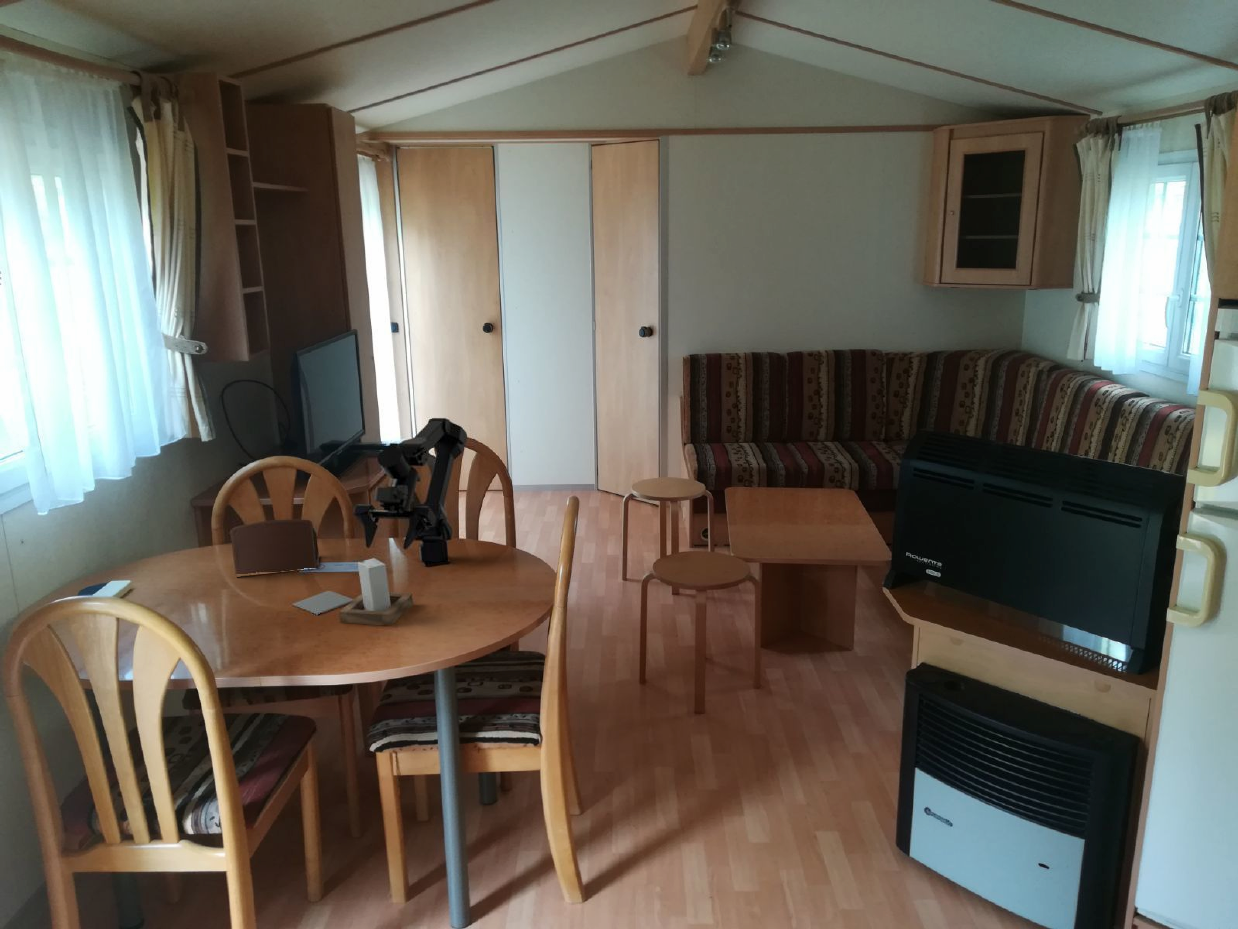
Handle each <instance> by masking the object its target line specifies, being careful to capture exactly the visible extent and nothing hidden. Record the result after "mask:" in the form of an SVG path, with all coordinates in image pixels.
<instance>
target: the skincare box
mask: <svg viewBox="0 0 1238 929" xmlns="http://www.w3.org/2000/svg"><path fill="white" fill-rule="evenodd" d="M357 567H358V574H359V581H360V588H361V589H360V590H361V594H362V596H363V603H364V609H363V610H371V611H386V610H388V609H389V608H390V607H391V603H390V596H389V593H390V590H389V589H390V588H389V581H388V580H389V579H388V572H387V565H386V563H384V562H382V561H380V560H378V559H376V558H375V557H374V558H369V559H366V560H365V559H364V560H363V561H358V562H357Z"/></svg>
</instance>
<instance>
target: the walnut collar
mask: <svg viewBox="0 0 1238 929" xmlns="http://www.w3.org/2000/svg"><path fill="white" fill-rule="evenodd" d="M389 596H390V603H391V607H390V608H389V609H388V610H386V611H371V610H364V603H363V596H362V593H360V594H359V595H358V596H356V597H355V598H354V600H353V601H352V602H351V603H348V604H346V606H344V607H343V608H342V609H340V611H339V612H338V616H339V623H341V624H355V625H356V624H357V625H376V626H392V625H393V623H394V624H395V622H396V621H397V620H398V619H399V618H400V617H401V616H403V615H404V613H405V612H406V611H408V610H409V609H410V608H411V607H412V606H413V605H414V600H413V593H412V594H411V593H397V592H389Z"/></svg>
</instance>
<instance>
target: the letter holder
mask: <svg viewBox="0 0 1238 929" xmlns="http://www.w3.org/2000/svg"><path fill="white" fill-rule="evenodd" d="M229 534H230V541H231V547H232V548H231V550H232V556H233V563H234V564H233V565H234V571H235V575H236V574H248V573H249V574H250V573H256V572H258V573H259V572H281V571H290V570H297V569H304V568H317V569H318V567H317V565H318V566H319V560H320V554H319V552H320V550H319V547H318V546H319V544H318V536H317V532H316V530H315V527H314V525H313V522H312V521H311V520H309V519H297V518H296V519H292V518H291V519H277V520H276V519H273V520H263V521H258V522H257V521H256V522H253V523H247V524H242V525H238V526H235V527H233V528H231V529H230V532H229Z"/></svg>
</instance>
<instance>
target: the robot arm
mask: <svg viewBox="0 0 1238 929" xmlns="http://www.w3.org/2000/svg"><path fill="white" fill-rule="evenodd" d="M467 441H468V434H467V432H466V430H465V429H464V428H463V427H462V426H461V425H459V424H457V423H454V422H452V421H451V420H450V419H448V418H446V417H432V418H430V419H428V422H427V424H426V425H425V426H424V427H423V428H421V430H420V431H419V432H418V433H417V434H416V435H415V436H414V437H413V438H409V439H406V440H403V441H401V442H399V443H397V442H396V443H395V442H394V443H393V442H390V443H389V445H388V447H386V448H384V449H383V450H381V452H380V453H379V454H378V455H377V462H378V465H379V466H380V467H381V468H382V470H383V471H384V473H385V474H386V475H387V476H388V477H389V479H391V482H390V486H386V487H382V486H380V487H375V491H374V493H375V494H374V502H379V506H380V507H381V508H383V509H376V508H375V506H374V505H373V504H371V503H358V504H356V505H355V506H354V507H353V511H352V514H353V515H354V516H355V518H356V519H357V520H358V521H359V523H360V524H362V525H363V528H364V539H365V540H364V541H365V547H366V548H367V549H370V548H371V546H372V544H373V541H374V539H375V536H376V532H377V530H378V527H379V526H378V525H377V523H379V521H380V519H384V520H385V519H387V520H388V519H390V520H391V519H392V520H394V519H395V520H408V528H407V532H406V535H405V538H404V542H403V545H402V546H403V549H404V550H407V549H408V548H409V547H410V546H411V545H412V543H413V542H414V541H415V542H417V541H418V542H419V541H420V544H419V545H418V546H419V550H418V551H419V559H420V562H421V563H423V565H424V567H432V566H438V565H443V564H444V565H445V564H449V563H451V560H450V558H449V553H448V552H449V551H448V541H451V540H452V537H453V527H452V526H451V525H450V523H449V522H448V517H447V514H446V511H445V508H444V507H445V502H446V497H447V493H448V489H449V486H450V481H451V476H452V472H453V468H454V464H455V460H456V459H457V458H459V456H460V455H462V453H463V452H464V449H465V446H466V444H467ZM433 447H434V448H435V452H436V457H435V461H434V464H433V469H432V473H431V477H430V481H429V485H428V489H427V494H426V498H425V501H424V502H423V503H417V505H414V506H413V507H412V508H411V505H412V503H415V499H416V498H415V497H414V493H415V489H416V487H417V486H416V485H417V482H418V483H419V482H420V481H421V476H420V475H419V472H418V470H417V469H416V468H415V467H424V466H426V464H427V462H428V461H429V459H430V457H431V456H430V450H431V449H432V448H433ZM410 509H412V510H410ZM431 565H432V566H431Z"/></svg>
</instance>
